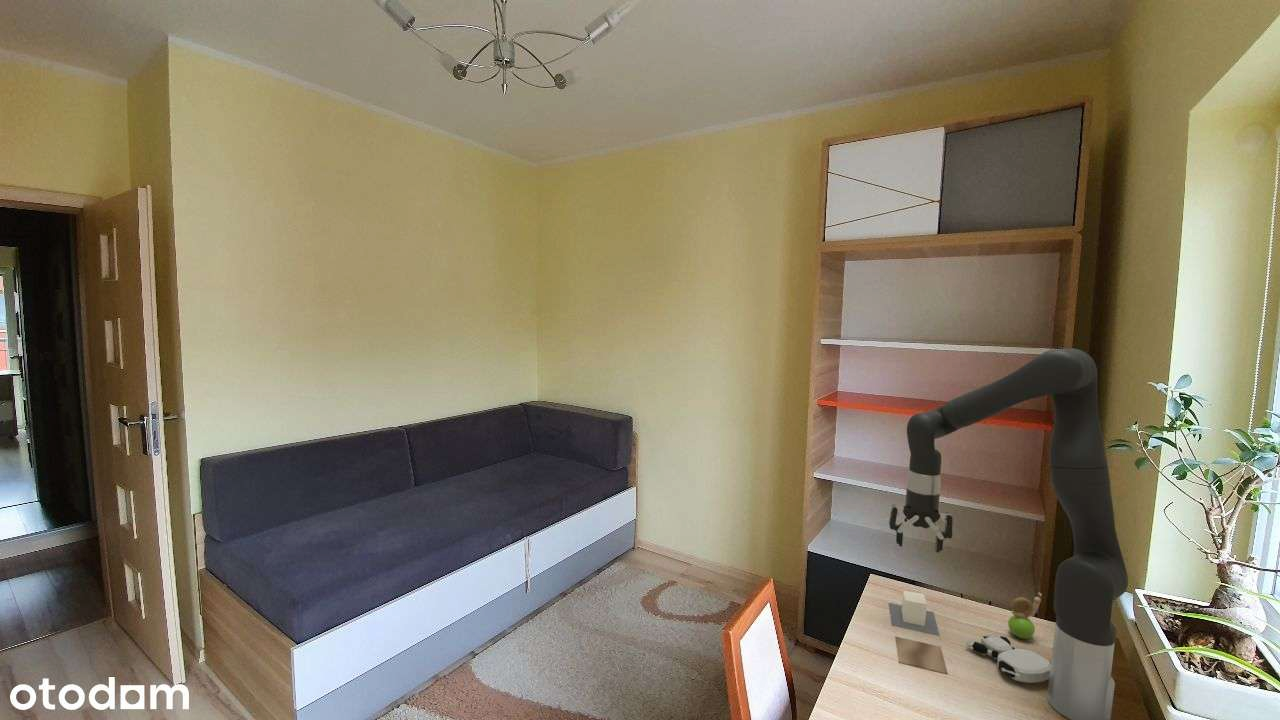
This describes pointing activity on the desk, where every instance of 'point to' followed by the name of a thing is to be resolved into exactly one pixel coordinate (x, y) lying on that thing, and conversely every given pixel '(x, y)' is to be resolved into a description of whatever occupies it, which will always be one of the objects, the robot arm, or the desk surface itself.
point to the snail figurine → (1023, 617)
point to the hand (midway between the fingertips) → (918, 548)
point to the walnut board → (920, 655)
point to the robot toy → (1014, 659)
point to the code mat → (898, 622)
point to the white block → (914, 608)
